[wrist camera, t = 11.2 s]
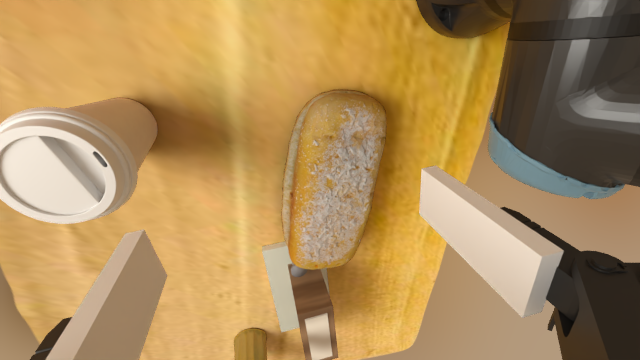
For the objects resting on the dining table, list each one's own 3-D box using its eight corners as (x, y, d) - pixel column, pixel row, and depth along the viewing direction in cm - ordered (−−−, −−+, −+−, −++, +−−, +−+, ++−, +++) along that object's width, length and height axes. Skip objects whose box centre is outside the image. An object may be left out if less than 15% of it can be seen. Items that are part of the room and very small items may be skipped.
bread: (275, 252, 47) (282, 287, 40) (285, 83, 37) (296, 90, 30) (351, 246, 50) (370, 277, 43) (379, 91, 40) (409, 99, 33)
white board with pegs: (321, 233, 48) (330, 255, 43) (330, 313, 57) (338, 339, 52) (261, 246, 46) (263, 271, 41) (280, 326, 55) (284, 355, 50)
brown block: (287, 264, 47) (297, 316, 38) (316, 257, 48) (333, 306, 39) (296, 312, 53) (307, 368, 44) (322, 305, 54) (338, 358, 45)
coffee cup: (177, 161, 37) (141, 226, 24) (93, 164, 35) (2, 238, 22) (163, 84, 33) (110, 112, 20) (67, 82, 31) (-65, 113, 18)
